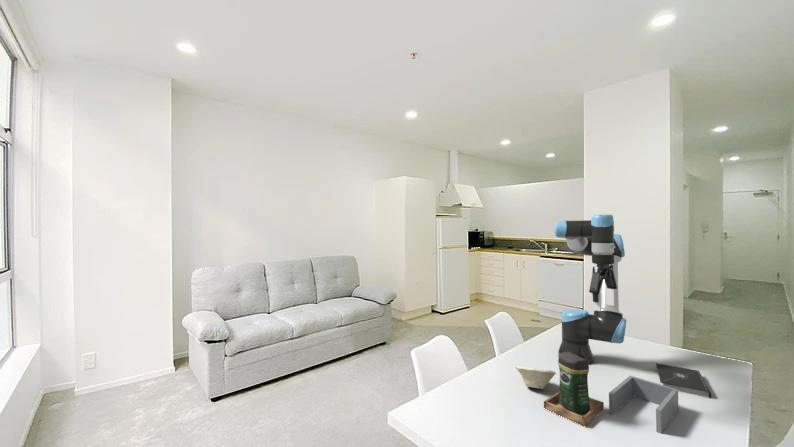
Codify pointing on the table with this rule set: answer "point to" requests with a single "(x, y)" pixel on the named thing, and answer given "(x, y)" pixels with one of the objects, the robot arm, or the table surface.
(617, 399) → the bay
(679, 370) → the book
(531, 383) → the bowl
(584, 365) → the coffee jar
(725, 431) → the table surface
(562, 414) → the tray
